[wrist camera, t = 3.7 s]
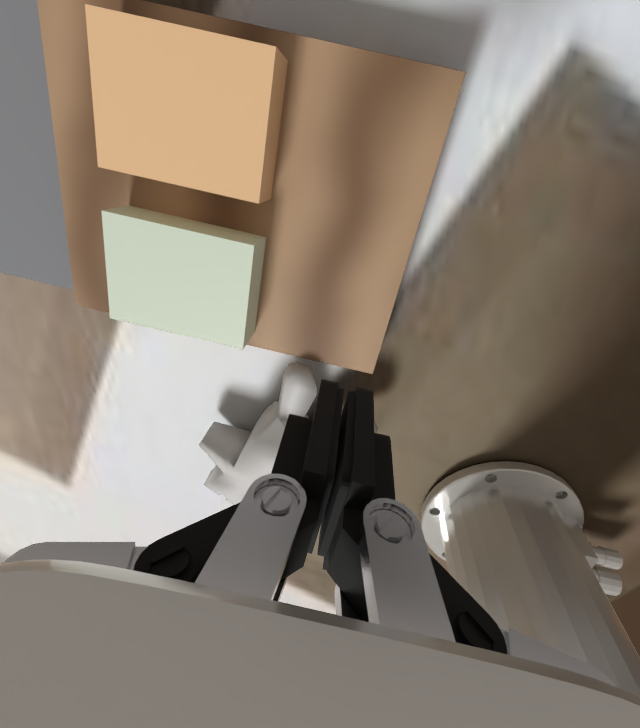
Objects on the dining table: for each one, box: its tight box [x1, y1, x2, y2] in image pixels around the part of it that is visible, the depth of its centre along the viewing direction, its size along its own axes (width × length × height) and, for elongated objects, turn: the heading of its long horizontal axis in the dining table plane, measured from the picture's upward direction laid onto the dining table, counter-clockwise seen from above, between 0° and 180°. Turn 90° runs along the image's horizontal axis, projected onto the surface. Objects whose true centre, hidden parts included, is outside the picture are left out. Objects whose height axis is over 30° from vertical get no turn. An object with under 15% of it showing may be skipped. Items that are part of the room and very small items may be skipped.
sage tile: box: [101, 206, 266, 349], centre depth 22 cm, size 8×6×2 cm
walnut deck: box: [37, 0, 466, 374], centre depth 22 cm, size 20×16×2 cm
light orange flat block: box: [85, 4, 288, 204], centre depth 18 cm, size 8×6×2 cm
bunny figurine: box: [199, 362, 378, 505], centre depth 29 cm, size 10×5×15 cm
